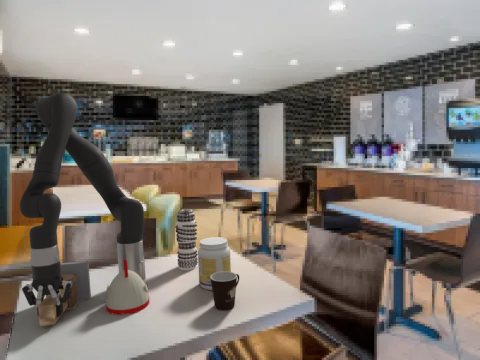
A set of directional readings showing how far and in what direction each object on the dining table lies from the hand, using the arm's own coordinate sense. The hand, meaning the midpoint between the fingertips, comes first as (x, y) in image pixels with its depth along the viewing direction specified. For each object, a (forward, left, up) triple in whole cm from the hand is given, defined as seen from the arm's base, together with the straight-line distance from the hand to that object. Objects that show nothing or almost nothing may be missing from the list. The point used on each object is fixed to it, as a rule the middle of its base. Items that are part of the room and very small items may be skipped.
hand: (50, 316), depth 107 cm
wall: (0, -17, -3) cm, 18 cm away
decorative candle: (-41, -42, -3) cm, 59 cm away
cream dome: (-21, -9, -3) cm, 23 cm away
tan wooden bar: (0, -3, -1) cm, 3 cm away
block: (0, -11, -3) cm, 12 cm away
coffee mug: (-54, -2, -3) cm, 54 cm away
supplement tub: (-51, -20, -3) cm, 55 cm away
